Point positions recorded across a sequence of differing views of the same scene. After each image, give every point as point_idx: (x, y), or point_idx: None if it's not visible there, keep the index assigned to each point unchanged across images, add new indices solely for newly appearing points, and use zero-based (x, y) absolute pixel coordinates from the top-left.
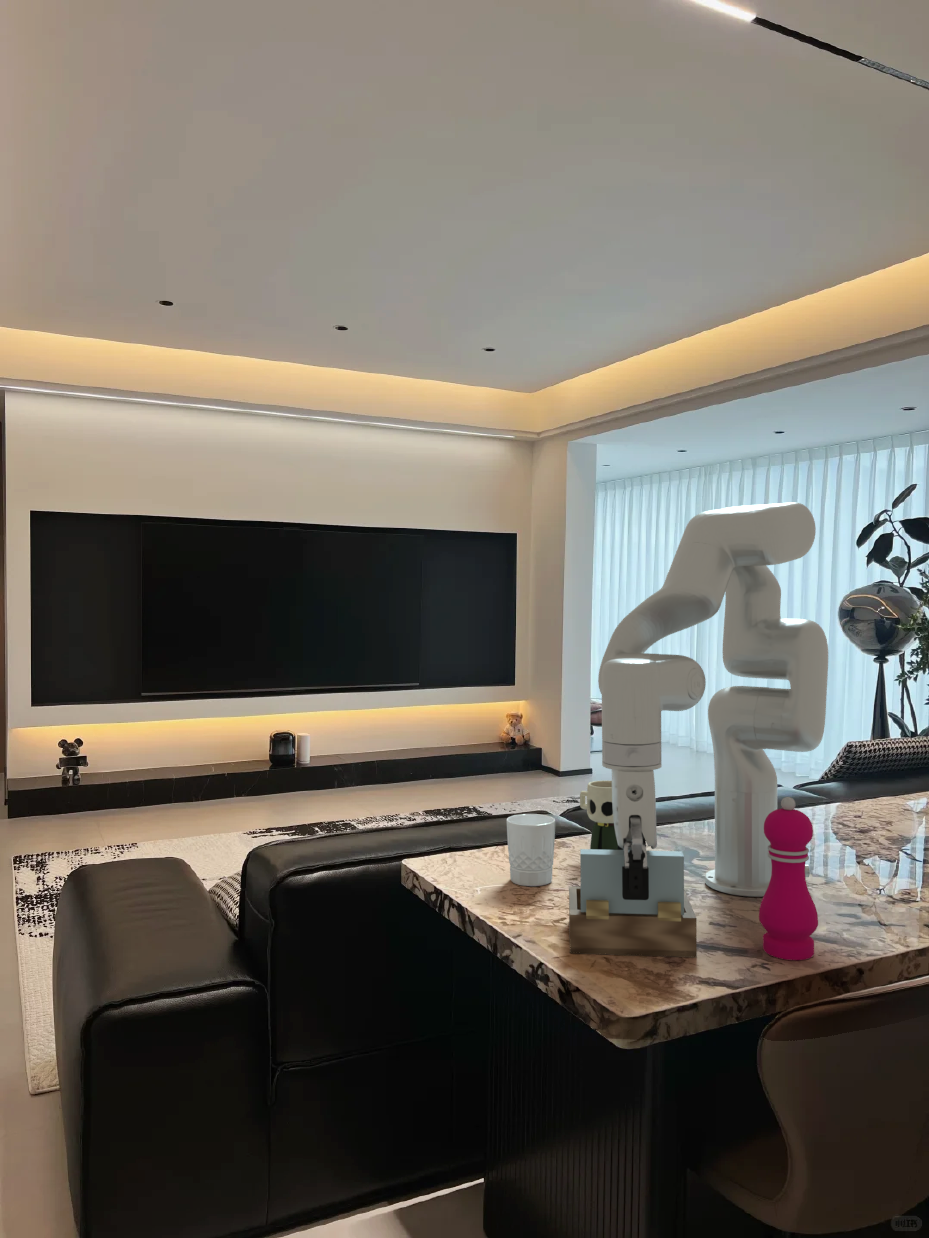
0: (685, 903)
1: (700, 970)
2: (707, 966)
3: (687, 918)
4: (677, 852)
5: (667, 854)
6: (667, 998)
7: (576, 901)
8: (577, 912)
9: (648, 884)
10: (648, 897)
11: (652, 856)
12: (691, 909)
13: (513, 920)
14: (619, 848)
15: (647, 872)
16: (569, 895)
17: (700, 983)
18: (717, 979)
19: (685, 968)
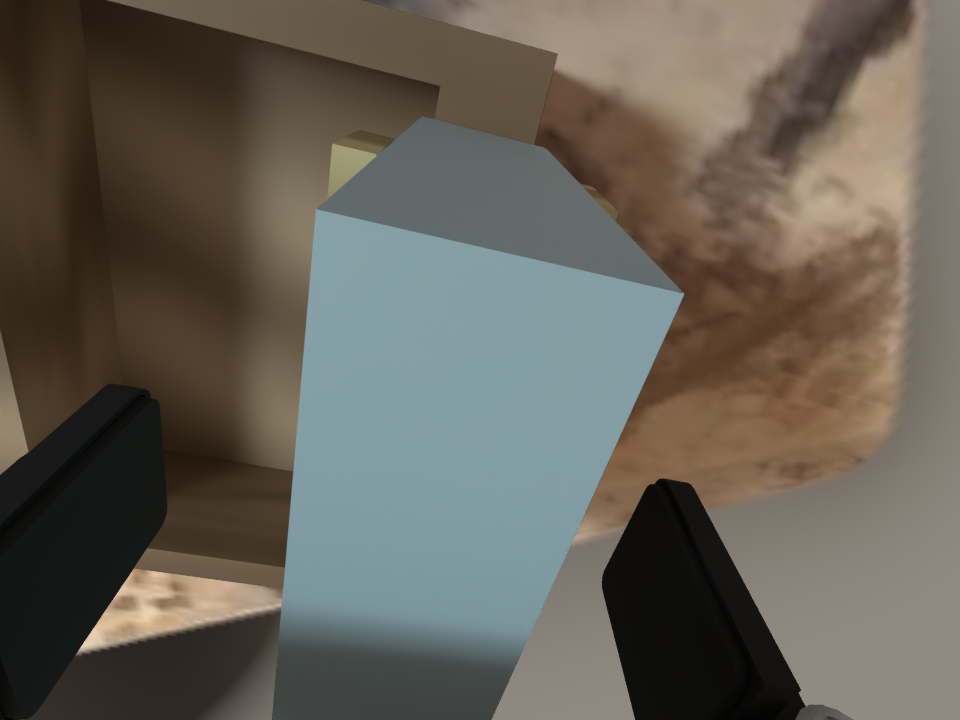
0: (237, 10)
1: (675, 103)
2: (643, 48)
3: (538, 118)
4: (405, 319)
5: (505, 495)
6: (849, 321)
7: (244, 562)
8: None
9: (730, 557)
10: (689, 486)
11: (525, 638)
12: (374, 15)
13: (139, 582)
14: (32, 715)
15: (772, 651)
16: (163, 571)
17: (792, 158)
18: (788, 62)
19: (636, 163)
